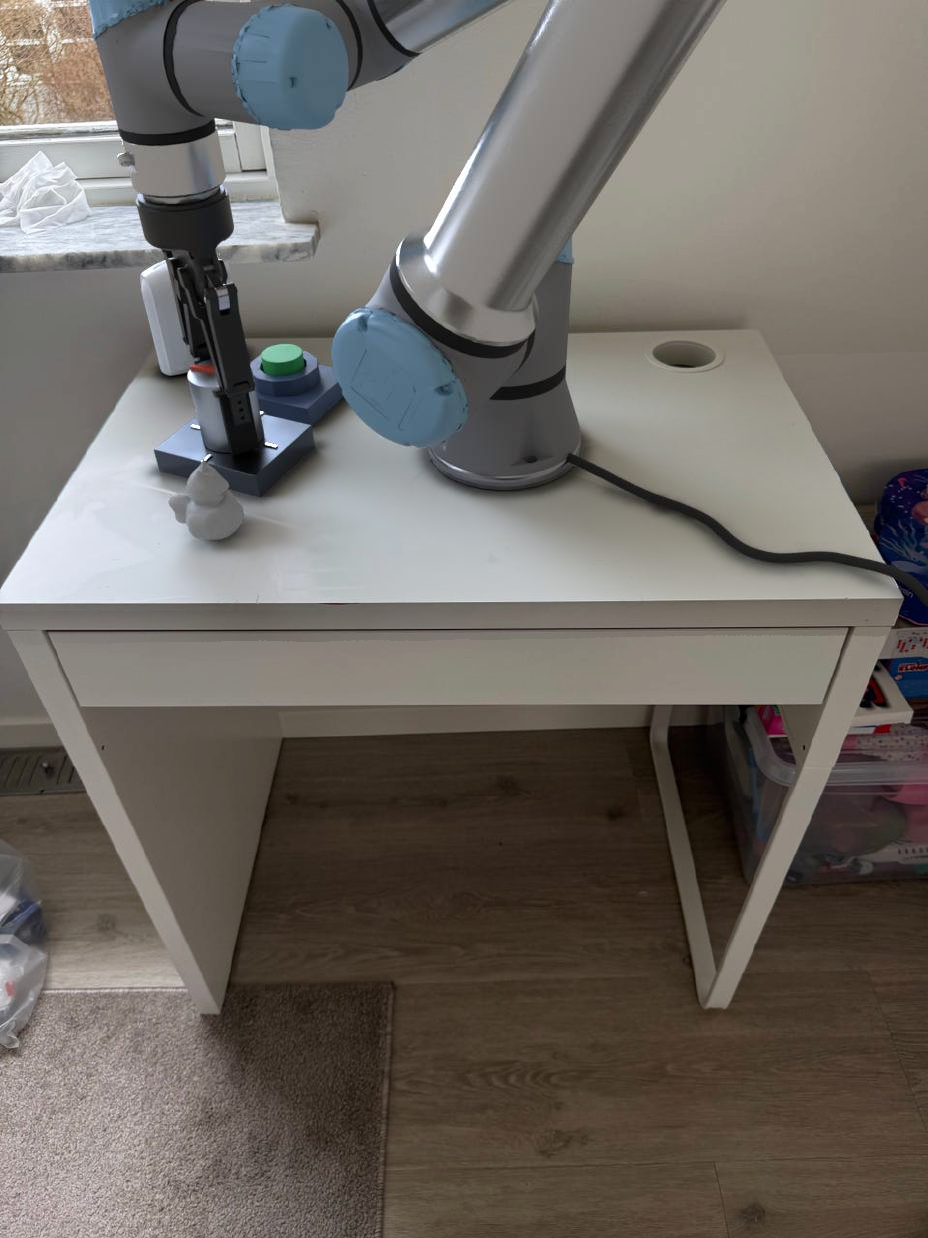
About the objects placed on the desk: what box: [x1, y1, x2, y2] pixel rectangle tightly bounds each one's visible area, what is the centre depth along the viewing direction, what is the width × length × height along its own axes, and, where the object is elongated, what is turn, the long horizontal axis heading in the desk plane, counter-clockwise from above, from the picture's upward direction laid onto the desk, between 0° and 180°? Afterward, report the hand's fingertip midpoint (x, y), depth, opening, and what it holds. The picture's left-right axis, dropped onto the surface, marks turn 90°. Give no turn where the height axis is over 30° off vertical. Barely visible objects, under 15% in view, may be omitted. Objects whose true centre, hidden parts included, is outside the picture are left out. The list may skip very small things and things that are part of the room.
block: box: [250, 350, 344, 426], centre depth 103 cm, size 11×9×4 cm
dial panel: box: [153, 411, 315, 498], centre depth 94 cm, size 12×10×3 cm
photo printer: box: [139, 258, 234, 377], centre depth 107 cm, size 10×4×12 cm, turn 123°
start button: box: [260, 343, 304, 376], centre depth 101 cm, size 4×4×2 cm
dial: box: [186, 359, 264, 453], centre depth 91 cm, size 6×6×7 cm
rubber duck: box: [167, 458, 245, 541], centre depth 83 cm, size 5×7×8 cm
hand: (232, 433), depth 93 cm, fingers closed on dial, 6 cm apart
